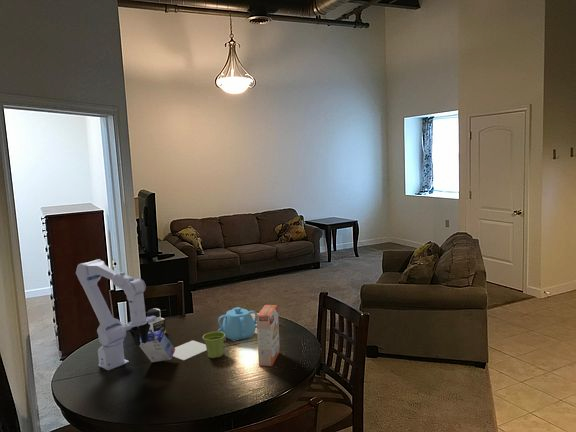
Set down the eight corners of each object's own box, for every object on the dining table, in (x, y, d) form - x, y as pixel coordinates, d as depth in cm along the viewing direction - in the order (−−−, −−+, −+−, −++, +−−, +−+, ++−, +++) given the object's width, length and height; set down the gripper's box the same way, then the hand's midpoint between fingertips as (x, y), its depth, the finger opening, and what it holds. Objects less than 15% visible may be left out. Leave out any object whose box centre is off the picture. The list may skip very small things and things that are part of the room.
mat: (183, 360, 196) (183, 360, 196) (163, 353, 205) (163, 352, 205) (213, 347, 208) (213, 347, 208) (192, 341, 217) (192, 340, 217)
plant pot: (199, 358, 198) (197, 338, 197) (213, 349, 206) (211, 330, 205) (217, 361, 194) (216, 341, 193) (230, 352, 202) (229, 333, 201)
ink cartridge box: (176, 348, 198) (159, 325, 190) (172, 359, 193) (154, 336, 186) (155, 351, 201) (138, 329, 193) (151, 362, 196) (133, 340, 188)
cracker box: (273, 367, 186) (270, 315, 184) (258, 366, 188) (255, 315, 185) (280, 352, 200) (278, 304, 197) (266, 352, 201) (264, 304, 199)
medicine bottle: (154, 337, 224) (152, 312, 223) (144, 334, 228) (142, 310, 227) (166, 332, 230) (164, 308, 228) (157, 330, 234) (155, 306, 233)
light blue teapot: (214, 339, 218) (212, 311, 216) (235, 328, 232) (233, 301, 230) (242, 345, 210) (240, 315, 208) (263, 333, 223) (261, 305, 221)
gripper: (126, 317, 178) (130, 352, 179) (159, 306, 189) (162, 339, 190) (116, 314, 183) (120, 348, 184) (148, 304, 194) (152, 336, 195)
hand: (141, 343), depth 188 cm, fingers closed
